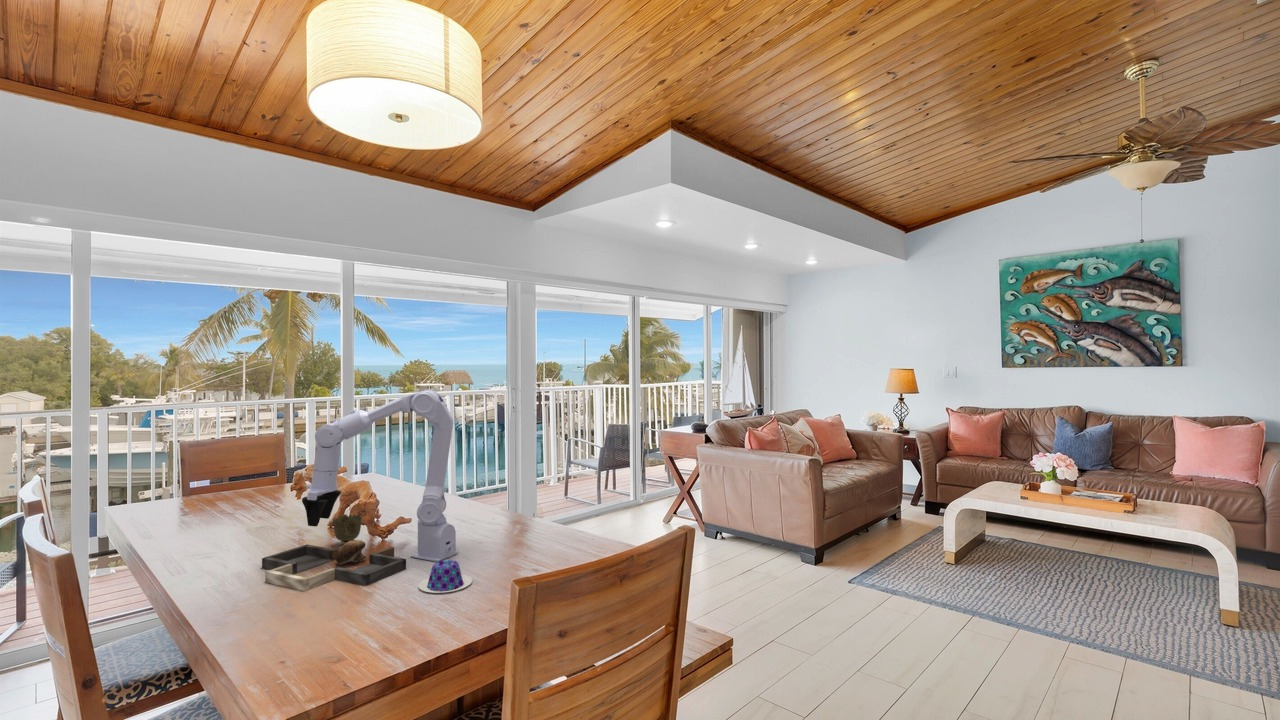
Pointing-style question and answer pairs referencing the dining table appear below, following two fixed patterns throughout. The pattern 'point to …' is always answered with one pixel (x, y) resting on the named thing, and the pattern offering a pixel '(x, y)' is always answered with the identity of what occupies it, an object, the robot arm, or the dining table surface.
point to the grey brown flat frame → (313, 556)
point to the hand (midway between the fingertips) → (318, 521)
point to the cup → (347, 527)
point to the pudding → (445, 578)
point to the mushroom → (350, 552)
